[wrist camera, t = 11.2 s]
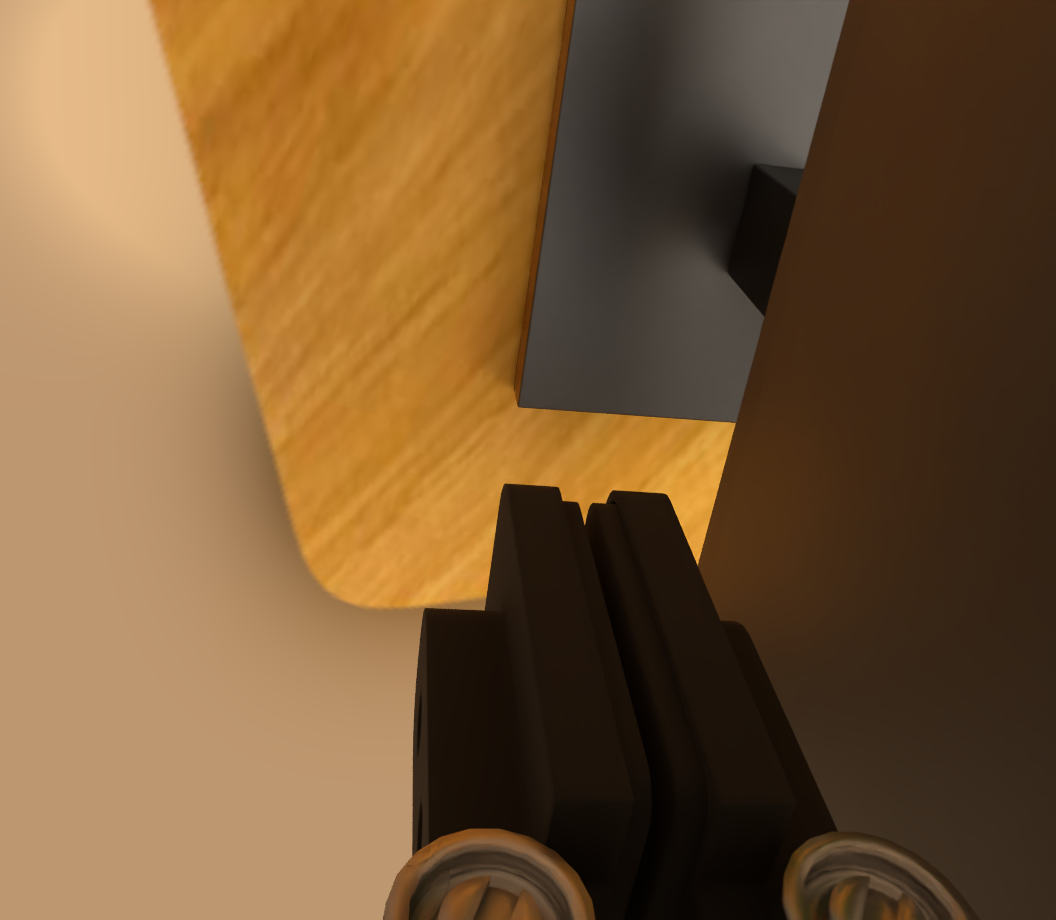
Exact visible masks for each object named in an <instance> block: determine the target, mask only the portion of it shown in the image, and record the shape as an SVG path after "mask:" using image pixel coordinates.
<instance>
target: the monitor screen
mask: <svg viewBox="0 0 1056 920" xmlns="http://www.w3.org/2000/svg"><path fill="white" fill-rule="evenodd" d="M698 568H699V570H700V573H701V575H702V578H703V580H704V582H705V585H706V587H707V589H708V592H709V594H710V597H711V599H712V601H713V604H714V606H715V609H716V611H717V613H718V616H719V618H720V621H737V622H739V623H740V624H742V625H743V626H744V627H745V629H746V630H747V632H748V633H749V635H750V637H751V639H752V641H753V643H754V646H755V648H756V650H757V652H758V655H759V657H760V659H761V661H762V663H763V666H764V668H765V670H766V672H767V674H768V677H769V679H770V681H771V683H772V686H773V688H774V690H775V692H776V694H777V697H778V699H779V701H780V703H781V706H782V708H783V710H784V712H785V714H786V717H787V719H788V721H789V723H790V726H791V728H792V730H793V732H794V734H795V737H796V739H797V741H798V743H799V746H800V748H801V750H802V752H803V754H804V757H805V759H806V761H807V763H808V766H809V768H810V770H811V772H812V774H813V777H814V779H815V781H816V783H817V786H818V788H819V790H820V792H821V794H822V797H823V799H824V801H825V803H826V806H827V808H828V810H829V812H830V814H831V817H832V819H833V821H834V823H835V826H836V828H837V830H838V832H861V833H865V834H869V835H873V836H876V837H880V838H884V839H888V840H890V841H892V842H894V843H896V844H898V845H900V846H902V847H904V848H906V849H908V850H910V851H912V852H914V853H916V854H918V855H919V856H920V857H922V858H923V859H924V860H925V861H927V862H928V863H929V864H931V865H932V866H933V867H935V868H936V869H937V870H938V871H940V872H941V873H942V874H944V875H945V876H946V878H947V879H948V880H949V881H950V882H951V883H952V884H953V886H954V887H955V888H956V889H957V890H958V891H959V892H960V894H961V895H962V896H963V897H964V898H965V899H966V901H967V902H968V903H969V905H970V906H971V908H972V909H973V910H974V912H975V913H976V915H977V916H978V918H979V919H980V920H1056V0H849V3H848V7H847V11H846V15H845V18H844V22H843V26H842V30H841V33H840V37H839V41H838V44H837V48H836V52H835V56H834V59H833V63H832V67H831V71H830V74H829V78H828V82H827V86H826V89H825V93H824V97H823V100H822V104H821V108H820V112H819V115H818V119H817V123H816V127H815V130H814V134H813V138H812V141H811V145H810V149H809V153H808V156H807V160H806V164H805V168H804V171H803V175H802V179H801V182H800V186H799V190H798V194H797V197H796V201H795V205H794V209H793V212H792V216H791V220H790V224H789V227H788V231H787V235H786V238H785V242H784V246H783V250H782V253H781V257H780V261H779V265H778V268H777V272H776V276H775V279H774V283H773V287H772V291H771V294H770V298H769V302H768V306H767V309H766V313H765V317H764V321H763V324H762V328H761V332H760V335H759V339H758V343H757V347H756V350H755V354H754V358H753V362H752V365H751V369H750V373H749V376H748V380H747V384H746V388H745V391H744V395H743V399H742V403H741V406H740V410H739V414H738V417H737V421H736V425H735V429H734V432H733V436H732V440H731V444H730V447H729V451H728V455H727V459H726V462H725V466H724V470H723V473H722V477H721V481H720V485H719V488H718V492H717V496H716V500H715V503H714V507H713V511H712V514H711V518H710V522H709V526H708V529H707V533H706V537H705V541H704V544H703V548H702V552H701V556H700V559H699V563H698Z"/></svg>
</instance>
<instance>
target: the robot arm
mask: <svg viewBox="0 0 1056 920" xmlns="http://www.w3.org/2000/svg"><path fill="white" fill-rule="evenodd" d="M412 850H413V851H412V852H413V853H412V854H413V855H412V858H411V859H410V860H409V861H408V862H407V863H406V865H405V866H404V867H403V868H402V869H401V871H400V872H399V873H398V874H397V876H396V879H395V881H394V884H393V886H392V889H391V891H390V894H389V897H388V899H387V902H386V906H385V911H384V916H383V920H980V919H979V918H978V916H977V915H976V913H975V912H974V910H973V909H972V908H971V906H970V905H969V903H968V902H967V901H966V899H965V898H964V897H963V896H962V895H961V894H960V892H959V891H958V890H957V889H956V888H955V887H954V886H953V884H952V883H951V882H950V881H949V880H948V879H947V878H946V876H945V875H944V874H942V873H941V872H940V871H938V870H937V869H936V868H935V867H933V866H932V865H931V864H929V863H928V862H927V861H925V860H924V859H923V858H922V857H920V856H919V855H918V854H916V853H914V852H912V851H910V850H908V849H906V848H904V847H902V846H900V845H898V844H896V843H894V842H892V841H890V840H888V839H884V838H880V837H876V836H873V835H869V834H865V833H861V832H838V830H837V828H836V826H835V823H834V821H833V819H832V817H831V814H830V812H829V810H828V808H827V806H826V803H825V801H824V799H823V797H822V794H821V792H820V790H819V788H818V786H817V783H816V781H815V779H814V777H813V774H812V772H811V770H810V768H809V766H808V763H807V761H806V759H805V757H804V754H803V752H802V750H801V748H800V746H799V743H798V741H797V739H796V737H795V734H794V732H793V730H792V728H791V726H790V723H789V721H788V719H787V717H786V714H785V712H784V710H783V708H782V706H781V703H780V701H779V699H778V697H777V694H776V692H775V690H774V688H773V686H772V683H771V681H770V679H769V677H768V674H767V672H766V670H765V668H764V666H763V663H762V661H761V659H760V657H759V655H758V652H757V650H756V648H755V646H754V643H753V641H752V639H751V637H750V635H749V633H748V632H747V630H746V629H745V627H744V626H743V625H742V624H740V623H739V622H737V621H720V618H719V616H718V613H717V611H716V609H715V606H714V604H713V601H712V599H711V597H710V594H709V592H708V589H707V587H706V585H705V582H704V580H703V578H702V575H701V573H700V570H699V568H698V566H697V563H696V561H695V558H694V556H693V554H692V551H691V549H690V546H689V544H688V542H687V539H686V537H685V535H684V532H683V530H682V527H681V525H680V523H679V520H678V518H677V515H676V513H675V511H674V508H673V506H672V504H671V501H670V499H669V498H668V496H667V495H666V494H663V493H647V492H631V491H615V490H613V491H612V492H611V493H610V495H609V497H608V499H607V503H606V504H601V503H592V504H591V505H590V508H589V510H588V514H587V519H586V524H585V525H584V521H583V517H582V513H581V510H580V506H579V504H578V503H577V502H568V501H562V497H561V493H560V490H559V488H558V487H551V486H535V485H519V484H504V486H503V489H502V493H501V498H500V505H499V512H498V519H497V526H496V533H495V541H494V548H493V555H492V562H491V569H490V576H489V584H488V591H487V598H486V606H485V611H481V610H458V609H433V608H425V609H424V613H423V619H422V627H421V636H420V646H419V656H418V668H417V679H416V693H415V709H414V732H413V845H412Z"/></svg>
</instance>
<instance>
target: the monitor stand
mask: <svg viewBox="0 0 1056 920" xmlns="http://www.w3.org/2000/svg"><path fill="white" fill-rule="evenodd" d="M848 3H849V0H568V2H567V9H566V17H565V24H564V31H563V38H562V46H561V53H560V60H559V67H558V74H557V82H556V89H555V96H554V103H553V111H552V118H551V125H550V132H549V139H548V147H547V154H546V161H545V168H544V176H543V183H542V190H541V197H540V204H539V212H538V219H537V226H536V233H535V241H534V248H533V255H532V262H531V269H530V277H529V284H528V291H527V298H526V306H525V313H524V320H523V327H522V334H521V342H520V349H519V356H518V363H517V371H516V378H515V385H514V391H515V396H516V401H517V405H518V407H522V408H536V409H550V410H564V411H578V412H592V413H606V414H620V415H635V416H649V417H663V418H677V419H691V420H705V421H719V422H733V423H736V421H737V417H738V414H739V410H740V406H741V403H742V399H743V395H744V391H745V388H746V384H747V380H748V376H749V373H750V369H751V365H752V362H753V358H754V354H755V350H756V347H757V343H758V339H759V335H760V332H761V328H762V324H763V321H764V317H765V313H766V309H767V306H768V302H769V298H770V294H771V291H772V287H773V283H774V279H775V276H776V272H777V268H778V265H779V261H780V257H781V253H782V250H783V246H784V242H785V238H786V235H787V231H788V227H789V224H790V220H791V216H792V212H793V209H794V205H795V201H796V197H797V194H798V190H799V186H800V182H801V179H802V175H803V171H804V168H805V164H806V160H807V156H808V153H809V149H810V145H811V141H812V138H813V134H814V130H815V127H816V123H817V119H818V115H819V112H820V108H821V104H822V100H823V97H824V93H825V89H826V86H827V82H828V78H829V74H830V71H831V67H832V63H833V59H834V56H835V52H836V48H837V44H838V41H839V37H840V33H841V30H842V26H843V22H844V18H845V15H846V11H847V7H848Z"/></svg>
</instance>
